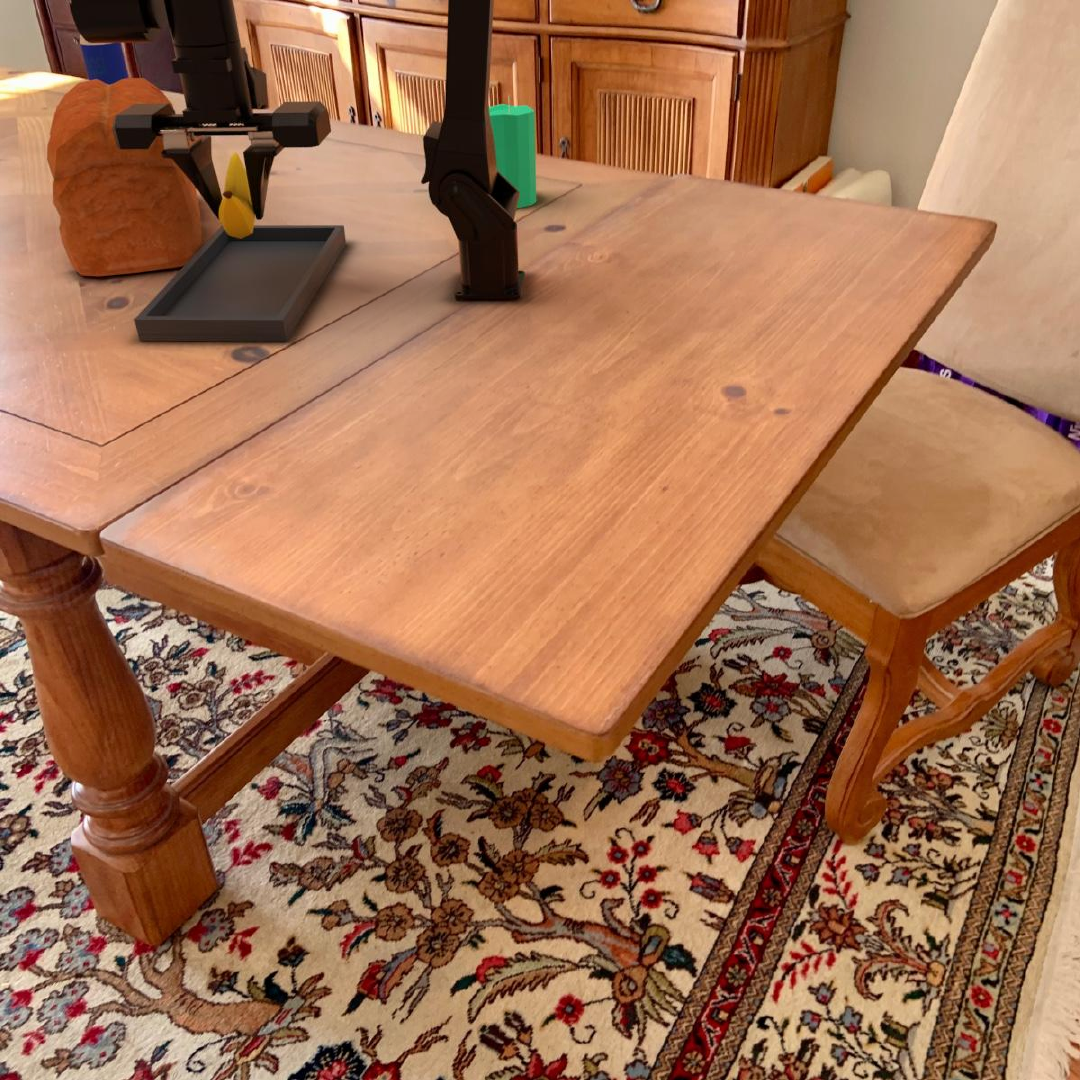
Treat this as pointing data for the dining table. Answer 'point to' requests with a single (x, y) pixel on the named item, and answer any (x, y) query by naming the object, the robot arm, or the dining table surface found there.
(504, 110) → the candle
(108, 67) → the beverage can
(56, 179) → the bread
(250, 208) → the banana
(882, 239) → the dining table surface
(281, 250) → the tray
